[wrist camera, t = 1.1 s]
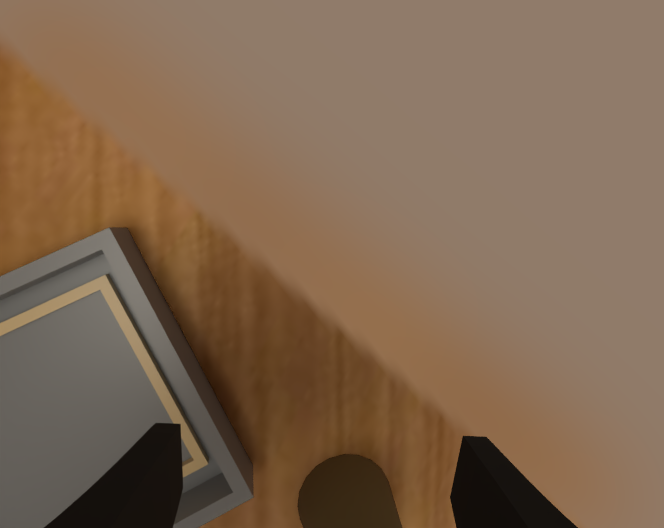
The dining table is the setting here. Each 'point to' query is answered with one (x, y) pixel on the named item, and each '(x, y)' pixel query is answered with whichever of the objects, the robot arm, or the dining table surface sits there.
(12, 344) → the walled box
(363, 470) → the cork
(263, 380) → the dining table surface
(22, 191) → the dining table surface
